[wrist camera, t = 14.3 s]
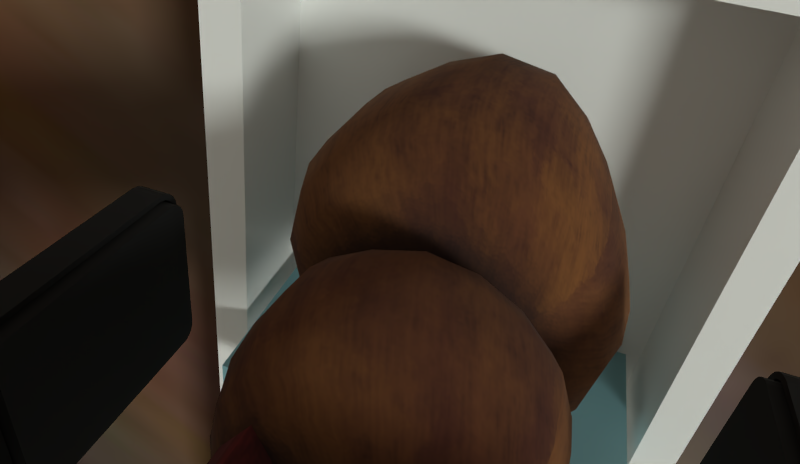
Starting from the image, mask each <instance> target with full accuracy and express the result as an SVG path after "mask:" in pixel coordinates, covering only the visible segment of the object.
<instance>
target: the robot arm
mask: <svg viewBox="0 0 800 464" xmlns="http://www.w3.org/2000/svg"><path fill="white" fill-rule="evenodd" d="M191 327H192V313H191V301H190V289H189V277H188V265H187V253H186V241H185V229H184V217H183V211H182V209H181V207H180V206H178V205H176V200H175V199H174V197H173V196H171V195H170V194H167V193H163V192H160V191H157V190H153V189H150V188H146V187H143V186H137V187H135V188H133V189H131V190H130V191H128V192H127V193H126V194H124V195H123V196H121V197H120V198H118V199H117V200H116V201H114V202H113V203H111V204H110V205H108V206H107V207H105V208H104V209H103V210H101V211H100V212H98V213H97V214H95V215H94V216H93V217H91V218H90V219H88V220H87V221H85V222H84V223H83V224H81V225H80V226H78V227H77V228H75V229H74V230H73V231H71V232H70V233H68V234H67V235H65V236H64V237H62V238H61V239H60V240H58V241H57V242H55V243H54V244H52V245H51V246H50V247H48V248H47V249H45V250H44V251H42V252H41V253H40V254H38V255H37V256H35V257H34V258H32V259H31V260H29V261H28V262H27V263H25V264H24V265H22V266H21V267H19V268H18V269H17V270H15V271H14V272H12V273H11V274H9V275H8V276H7V277H5V278H4V279H2V280H1V281H0V464H77V462H78V461H79V460H80V459H81V458H82V457H83V456H84V455H85V453H86V452H87V451H88V450H89V449H90V448H91V447H92V446H93V444H94V443H95V442H96V441H97V440H98V439H99V438H100V437H101V435H102V434H103V433H104V432H105V431H106V430H107V429H108V428H109V426H110V425H111V424H112V423H113V422H114V421H115V420H116V419H117V417H118V416H119V415H120V414H121V413H122V412H123V411H124V410H125V408H126V407H127V406H128V405H129V404H130V403H131V402H132V401H133V399H134V398H135V397H136V396H137V395H138V394H139V393H140V392H141V390H142V389H143V388H144V387H145V386H146V385H147V384H148V383H149V381H150V380H151V379H152V378H153V377H154V376H155V375H156V374H157V372H158V371H159V370H160V369H161V368H162V367H163V366H164V365H165V363H166V362H167V361H168V360H169V359H170V358H171V357H172V356H173V354H174V353H175V352H176V351H177V350H178V349H179V348H180V347H181V345H182V344H183V343H184V342H185V341H186V339H187V337H188V336H189V333H190V331H191ZM700 464H800V377H796V376H793V375H790V374H786V373H783V372H774V373H773V374H771V375H770V376H769V377H768V379H767V378H764V377H757V378H756V379H755V380H754V381H753V382H752V384H751V385H750V387H749V388H748V390H747V392H746V393H745V395H744V396H743V398H742V399H741V401H740V402H739V404H738V405H737V407H736V409H735V410H734V412H733V413H732V415H731V416H730V418H729V419H728V421H727V423H726V424H725V426H724V427H723V429H722V430H721V432H720V433H719V435H718V436H717V438H716V440H715V441H714V443H713V444H712V446H711V447H710V449H709V450H708V452H707V454H706V455H705V457H704V458H703V460H702V461H701V463H700Z"/></svg>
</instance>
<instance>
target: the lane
mask: <svg viewBox="0 0 800 464" xmlns="http://www.w3.org/2000/svg"><path fill="white" fill-rule="evenodd" d="M198 12H199V30H200V47H201V64H202V82H203V99H204V116H205V134H206V151H207V168H208V185H209V203H210V220H211V237H212V255H213V272H214V289H215V307H216V324H217V341H218V359H219V376H220V392H221V389H222V386H223V368H222V365H223V364H224V362H225V361H226V360H227V358H228V357H229V356H230V354H231V353H232V352H233V351H234V349H235V348H236V347H237V345H238V344H239V343H240V341H241V340H242V339H243V337H244V336H245V335H246V333H247V332H248V331H249V329H250V328H251V327H252V325H253V324H254V323H255V321H256V320H257V319H258V317H259V316H260V315H261V313H262V312H263V311H264V309H265V308H266V307H267V306H268V304H269V303H270V302H271V300H272V299H273V298H274V296H275V295H276V294H277V292H278V291H279V290H280V288H281V287H282V286H283V284H284V283H285V282H286V280H287V279H288V278H289V276H290V275H291V274H292V272H293V271H294V270H295V268H296V267H297V265H296V261H295V257H294V253H293V249H292V245H291V241H290V237H291V233H292V228H293V223H294V219H295V214H296V210H297V205H298V200H299V196H300V191H301V188H302V185H303V181H304V178H305V175H306V171H307V168H308V165H309V163H310V161H311V160H312V159H313V157H314V156H315V155H316V154H317V152H318V151H319V150H320V149H321V147H322V146H323V145H324V144H325V142H326V141H327V140H328V139H329V138H330V137H331V136H332V135H333V134H334V133H335V132H336V131H337V130H339V129H340V128H341V127H342V126H343V125H344V124H345V123H346V122H347V121H348V120H349V119H350V118H351V117H352V116H353V115H354V114H355V113H357V112H358V111H359V110H360V109H361V108H362V107H363V106H364V105H365V104H366V103H367V102H369V101H370V100H371V99H373V98H374V97H375V96H377V95H378V94H379V93H380V92H382V91H383V90H384V89H386V88H388V87H390V86H393V85H395V84H397V83H399V82H401V81H403V80H406V79H408V78H411V77H413V76H416V75H418V74H421V73H423V72H426V71H428V70H431V69H433V68H435V67H438V66H440V65H443V64H445V63H448V62H451V61H457V60H464V59H470V58H476V57H483V56H489V55H495V54H502V53H503V54H505V55H508V56H510V57H513V58H516V59H518V60H521V61H523V62H526V63H528V64H531V65H533V66H536V67H538V68H541V69H543V70H546V71H549V72H551V73H554V74H556V75H557V77H558V78H559V79H560V81H561V82H562V84H563V85H564V86H565V88H566V89H567V90H568V92H569V93H570V94H571V96H572V97H573V98H574V100H575V101H576V102H577V104H578V105H579V106H580V108H581V109H582V111H583V112H584V113H585V115H586V116H587V117H588V119H589V122H590V124H591V126H592V128H593V131H594V133H595V135H596V138H597V140H598V142H599V145H600V147H601V149H602V151H603V154H604V156H605V158H606V161H607V163H608V167H609V171H610V175H611V178H612V182H613V186H614V190H615V193H616V197H617V201H618V205H619V208H620V212H621V216H622V220H623V224H624V227H625V231H626V243H627V256H628V268H629V286H630V313H629V317H628V321H627V325H626V329H625V333H624V338H623V342H622V345H621V346H620V348H619V349H618V351H617V352H620V353H623V354H626V406H627V464H676V462H677V460H678V459H679V457H680V456H681V454H682V452H683V451H684V449H685V447H686V446H687V444H688V443H689V441H690V439H691V438H692V436H693V434H694V433H695V431H696V429H697V428H698V426H699V425H700V423H701V421H702V420H703V418H704V416H705V415H706V413H707V412H708V410H709V408H710V407H711V405H712V403H713V402H714V400H715V398H716V397H717V395H718V394H719V392H720V390H721V389H722V387H723V385H724V384H725V382H726V380H727V379H728V377H729V376H730V374H731V372H732V371H733V369H734V367H735V366H736V364H737V363H738V361H739V359H740V358H741V356H742V354H743V353H744V351H745V349H746V348H747V346H748V345H749V343H750V341H751V340H752V338H753V336H754V335H755V333H756V332H757V330H758V328H759V327H760V325H761V323H762V322H763V320H764V318H765V317H766V315H767V314H768V312H769V310H770V309H771V307H772V305H773V304H774V302H775V301H776V299H777V297H778V296H779V294H780V292H781V291H782V289H783V287H784V286H785V284H786V283H787V281H788V279H789V278H790V276H791V274H792V273H793V271H794V270H795V268H796V266H797V265H798V263H799V261H800V0H198Z"/></svg>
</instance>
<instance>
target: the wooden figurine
mask: <svg viewBox="0 0 800 464" xmlns="http://www.w3.org/2000/svg"><path fill="white" fill-rule="evenodd" d="M290 241H291V245H292V249H293V253H294V257H295V261H296V265H297V269H298V273H299V276H300V277H299V278H298V279H297V280H296V281H295V282H294V283H293V284H291V285H290V286H289V287H288V288H287V289H286V290H285V291H284V292H283V293H282V295H281V296H280V297H279V298H278V299H277V300H276V301H275V302H274V303H273V304H272V305H271V306H270V307H269V308H268V309H267V310H266V312H265V313H264V314H263V315H262V316H261V317H260V318H259V319H258V320H257V321H256V322H255V323H254V325H253V326H252V328H251V329H250V331H249V332H248V334H247V335H246V337H245V338H244V340H243V341H242V343H241V344H240V346H239V347H238V349H237V350H236V352H235V353H234V355H233V356H232V358H231V360H230V363H229V366H228V370H227V373H226V376H225V379H224V382H223V386H222V389H221V392H220V395H219V398H218V402H217V405H216V410H215V415H214V420H213V425H212V430H211V435H210V448H211V459H210V461H209V462H208V463H207V464H570V458H571V448H572V415H571V412H572V411H574V410H576V409H577V407H578V406H579V404H580V403H581V401H582V400H583V399H584V397H585V396H586V394H587V393H588V391H589V390H590V389H591V387H592V386H593V384H594V383H595V382H596V380H597V379H598V377H599V376H600V374H601V373H602V372H603V370H604V369H605V367H606V366H607V365H608V363H609V362H610V360H611V359H612V358H613V356H614V355H615V353H616V352H617V351H618V349H619V348H620V346H621V345H622V342H623V338H624V333H625V329H626V325H627V321H628V317H629V313H630V286H629V268H628V256H627V243H626V231H625V227H624V224H623V220H622V216H621V212H620V208H619V205H618V201H617V197H616V193H615V190H614V186H613V182H612V178H611V175H610V171H609V167H608V163H607V161H606V158H605V156H604V154H603V151H602V149H601V147H600V145H599V142H598V140H597V138H596V135H595V133H594V131H593V128H592V126H591V124H590V122H589V119H588V117H587V116H586V115H585V113H584V112H583V111H582V109H581V108H580V106H579V105H578V104H577V102H576V101H575V100H574V98H573V97H572V96H571V94H570V93H569V92H568V90H567V89H566V88H565V86H564V85H563V84H562V82H561V81H560V79H559V78H558V77H557V75H556V74H554V73H551V72H549V71H546V70H543V69H541V68H538V67H536V66H533V65H531V64H528V63H526V62H523V61H521V60H518V59H516V58H513V57H510V56H508V55H505V54H503V53H502V54H495V55H489V56H483V57H476V58H470V59H464V60H457V61H451V62H448V63H445V64H443V65H440V66H438V67H435V68H433V69H431V70H428V71H426V72H423V73H421V74H418V75H416V76H413V77H411V78H408V79H406V80H403V81H401V82H399V83H397V84H395V85H393V86H390V87H388V88H386V89H384V90H383V91H382V92H380V93H379V94H378V95H377V96H375V97H374V98H373V99H371V100H370V101H369V102H367V103H366V104H365V105H364V106H363V107H362V108H361V109H360V110H359V111H358V112H357V113H355V114H354V115H353V116H352V117H351V118H350V119H349V120H348V121H347V122H346V123H345V124H344V125H343V126H342V127H341V128H340V129H339V130H337V131H336V132H335V133H334V134H333V135H332V136H331V137H330V138H329V139H328V140H327V141H326V142H325V144H324V145H323V146H322V147H321V149H320V150H319V151H318V152H317V154H316V155H315V156H314V157H313V159H312V160H311V161H310V163H309V165H308V168H307V171H306V175H305V178H304V181H303V185H302V188H301V191H300V196H299V200H298V205H297V210H296V214H295V219H294V223H293V228H292V233H291V237H290Z"/></svg>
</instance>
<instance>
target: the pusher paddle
mask: <svg viewBox="0 0 800 464" xmlns="http://www.w3.org/2000/svg"><path fill="white" fill-rule="evenodd" d="M299 277H300V276H299V273H298V269H297V267H296V268H295V270H294V271H293V272H292V274H291V275H290V276H289V278H288V279H287V280H286V282H285V283H284V284H283V286H282V287H281V288H280V290H279V291H278V292H277V294H276V295H275V296H274V298H273V299H272V300H271V302H270V303H269V304H268V306H267V307H266V308H265V309H264V311H263V312H262V313H261V315H260V316H259V317H258V319H259V318H260V317H261V316H262V315H263V314H264V313H265V312H266V310H267V309H268V308H269V307H270V306H271V305H272V304H273V303H274V302H275V301H276V300H277V299H278V298H279V297H280V296H281V295H282V293H283V292H284V291H285V290H286V289H287V288H288V287H289V286H290V285H291V284H293V283H294V282H295V281H296V280H297V279H298V278H299ZM258 319H257V320H258ZM257 320H256V321H257ZM256 321H255V322H256ZM253 325H254V324H253ZM253 325H252V326H253ZM251 328H252V327H251ZM251 328H250V329H251ZM250 329H249V331H250ZM249 331H248V332H249ZM248 332H247V333H246V335H247V334H248ZM246 335H245V336H244V337H243V339H242V340H241V341H240V343H239V344H238V345H237V347H236V348H235V349H234V351H233V352H232V353H231V354H230V356H229V357H228V358H227V360H226V361H225V362H224V364H223V365H222V368H223V382H224V379H225V376H226V373H227V370H228V366H229V363H230V360H231V358H232V356H233V355H234V353H235V352H236V350H237V349H238V347H239V346H240V344H241V343H242V341H243V340H244V338H245V337H246ZM571 415H572V448H571V458H570V464H627V406H626V354H623V353H620V352H616V353H615V355H614V356H613V358H612V359H611V360H610V362H609V363H608V365H607V366H606V367H605V369H604V370H603V372H602V373H601V374H600V376H599V377H598V379H597V380H596V382H595V383H594V384H593V386H592V387H591V389H590V390H589V391H588V393H587V394H586V396H585V397H584V399H583V400H582V401H581V403H580V404H579V406H578V407H577V409H576V410H574V411H572V412H571Z"/></svg>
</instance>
